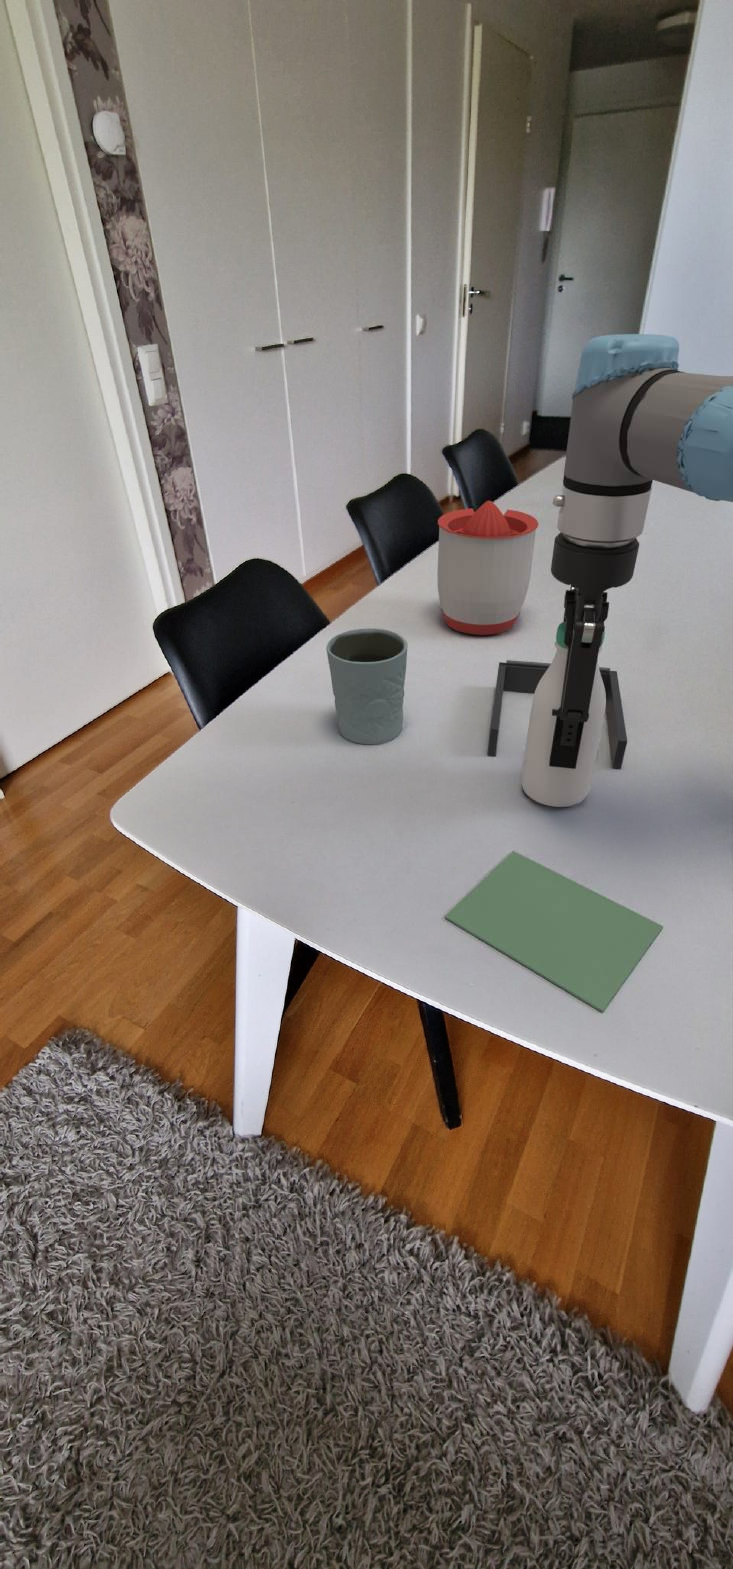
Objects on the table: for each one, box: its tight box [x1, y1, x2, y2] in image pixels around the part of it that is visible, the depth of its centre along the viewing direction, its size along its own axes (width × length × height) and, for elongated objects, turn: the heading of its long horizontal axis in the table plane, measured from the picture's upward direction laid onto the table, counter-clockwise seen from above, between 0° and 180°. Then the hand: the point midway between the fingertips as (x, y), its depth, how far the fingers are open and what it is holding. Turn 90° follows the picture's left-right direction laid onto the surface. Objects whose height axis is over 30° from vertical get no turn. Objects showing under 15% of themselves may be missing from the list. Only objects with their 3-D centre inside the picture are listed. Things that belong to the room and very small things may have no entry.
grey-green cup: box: [326, 627, 409, 746], centre depth 90 cm, size 10×10×12 cm
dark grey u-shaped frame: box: [487, 659, 628, 770], centre depth 92 cm, size 18×16×5 cm
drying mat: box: [444, 850, 664, 1014], centre depth 65 cm, size 16×12×1 cm
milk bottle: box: [521, 621, 606, 808], centre depth 75 cm, size 8×8×20 cm
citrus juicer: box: [436, 500, 539, 636], centre depth 115 cm, size 16×17×20 cm
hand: (562, 744), depth 78 cm, fingers closed on milk bottle, 8 cm apart
